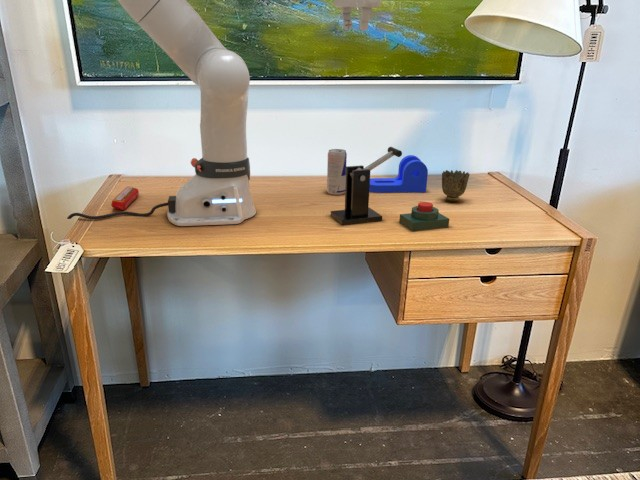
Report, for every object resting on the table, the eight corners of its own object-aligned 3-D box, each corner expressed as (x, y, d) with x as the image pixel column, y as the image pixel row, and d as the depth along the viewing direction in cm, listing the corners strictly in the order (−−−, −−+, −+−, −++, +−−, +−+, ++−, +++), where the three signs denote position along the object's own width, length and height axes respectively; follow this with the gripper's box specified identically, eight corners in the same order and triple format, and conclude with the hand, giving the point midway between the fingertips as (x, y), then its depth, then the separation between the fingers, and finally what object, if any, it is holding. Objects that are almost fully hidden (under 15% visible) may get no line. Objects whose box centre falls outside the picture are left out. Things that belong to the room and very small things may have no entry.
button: (422, 213, 142) (422, 206, 141) (415, 209, 145) (415, 202, 144) (435, 212, 143) (435, 205, 142) (427, 208, 146) (428, 201, 145)
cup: (443, 196, 169) (446, 168, 165) (468, 199, 166) (472, 171, 162) (435, 202, 163) (438, 173, 159) (461, 206, 160) (465, 177, 156)
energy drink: (348, 191, 172) (349, 150, 166) (341, 196, 167) (342, 153, 162) (331, 189, 174) (332, 148, 168) (324, 193, 169) (324, 151, 164)
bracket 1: (369, 212, 154) (371, 163, 148) (382, 221, 148) (385, 170, 142) (330, 215, 151) (331, 166, 145) (341, 225, 144) (343, 173, 138)
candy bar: (124, 212, 151) (122, 201, 150) (110, 212, 151) (108, 200, 150) (141, 195, 166) (139, 184, 164) (128, 195, 166) (126, 184, 164)
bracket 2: (419, 184, 179) (422, 155, 175) (425, 192, 172) (428, 161, 168) (361, 185, 178) (362, 155, 174) (365, 192, 171) (366, 161, 167)
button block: (412, 231, 141) (413, 215, 139) (399, 222, 147) (400, 207, 145) (448, 227, 144) (450, 211, 142) (434, 218, 150) (435, 203, 148)
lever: (394, 152, 148) (391, 143, 146) (403, 156, 143) (400, 147, 142) (351, 180, 147) (347, 172, 145) (359, 185, 143) (355, 176, 141)
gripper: (327, -36, 140) (327, 28, 147) (362, -42, 123) (360, 30, 130) (351, -35, 142) (350, 28, 149) (389, -41, 125) (385, 30, 132)
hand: (355, 29), depth 139 cm, fingers open, 8 cm apart
